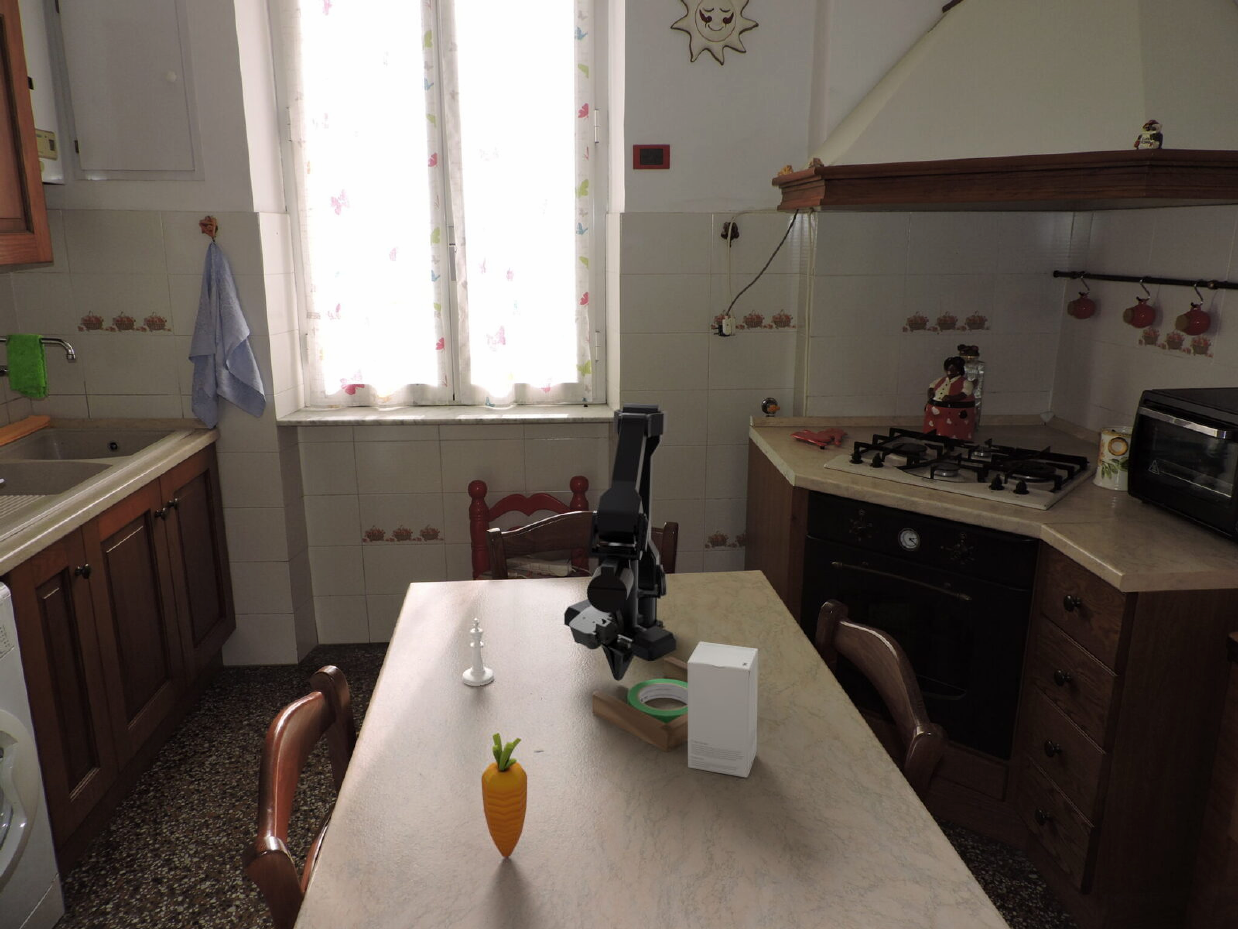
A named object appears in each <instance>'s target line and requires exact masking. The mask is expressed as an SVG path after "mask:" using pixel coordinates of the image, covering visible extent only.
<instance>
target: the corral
mask: <svg viewBox="0 0 1238 929" xmlns="http://www.w3.org/2000/svg"><path fill="white" fill-rule="evenodd" d="M663 677H664V679H673V680H679V681H683V682H686V683H688V663H687V662H684V661H682V660H680V659H678V658H675V657H673V656H668V657H667V658H664V660H663ZM591 694H592V696H591V700H592V701H591V703H592V704H591V705H592V710H591V712H592V714H594V715H596V716H598V717H600V718H602V719H604V720H605V721H607V722H609V723H611V724H613V725H614V726H616V727H619V728H621V729H622V730H624V731H626V732H628V733H629V734H632V735H634V736H635V737H637V738H639V739H641V740H643V741H645V742H647V743H649V744H651V745H653V746H654V747H656V748H658V749H659V750H662V751H664V752H665V753H668V752H671V750H673V749H674V748H676V747H678V746H680V745H681V744H683V743H685V742H688V712H687V713H685V714H683V715H681V716H680V717H678V718H676V719H674V720H672V721H671V722H669V723H667V724H666V723H664V722H662V721H660V720H658V719H656V718H654V717H652V716H650V715H648V714H646V713H644V712H642V711H640V710H638V709H636V708H634V707H632V706H630V705H628V704H627V702H624V701H622V700H620V699H618V698H616V697H614V696H612V695H609V694H608V693H606V692H604V691H602V690H597V691H596V692H593V693H591Z"/></svg>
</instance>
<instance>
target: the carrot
mask: <svg viewBox="0 0 1238 929" xmlns="http://www.w3.org/2000/svg"><path fill="white" fill-rule="evenodd" d="M492 738H493V739H492V740H493V743H494V745H493V746H492V748H491V749H492V755H493V757H494V759H495V762H491V763H490V764H489V765H488V767H487V768H486V769H485V771H484V772H483V773H482V775H481V794H482V802H483V804H482V805H483V812H484V817H485V821H486V825H487V828H488V831H489V834H490V836H491V838H492V841H493V843H494V845H495V847H496V848H497V851H498V852H499V853H500V854H501V857H503V858H504V859H505V858H506V859H507V858H510V857H511V856H512V854H513V852H514V850H515V848H516V846H517V845H518V843H519V841H520V838H521V835H522V833H523V829H524V824H525V820H526V812H527V805H528V803H527V802H528V775H527V772H526V771H525V769H524V768H523V766H522V765H521V764H520V763H519V762H517V758H514V757H513V758H511V756H512V753H513V752H514V750H515V748H516V747H517V745H518V744H519V743H520V742H521V741H522V739H521V738H520V737H516V739H514V740H513V742H512V741H507V742H506V744H505V745H504V748H503V745H502V738H501V736H500V733H499V732H495V733H494V734H493V735H492Z"/></svg>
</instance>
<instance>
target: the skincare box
mask: <svg viewBox="0 0 1238 929" xmlns="http://www.w3.org/2000/svg"><path fill="white" fill-rule="evenodd" d="M758 662H759V648H756V647H755V648H753V647H747V646H746V647H745V646H739V645H731V644H722V643H715V642H707V641H699V642H698V644H697V645H696V647H695V649H694V650H693V652H692V654H691V655H690V657H689V659H688V661H687V662H686V663H687V664H688V740H687V767H688V768H690V769H696V770H701V771H708V772H713V773H718V774H724V775H730V776H735V777H741V778H748V777H749V775H750V771H751V769H752V766H753V763H754V761H755V758H756V754H757V740H758V739H757V738H758V737H757V736H758V690H759V689H758V683H759V682H758V680H759V675H758V674H759V663H758Z"/></svg>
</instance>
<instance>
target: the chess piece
mask: <svg viewBox="0 0 1238 929" xmlns="http://www.w3.org/2000/svg"><path fill="white" fill-rule="evenodd" d="M473 623H474V624H472V625H473V628H472V629H471V630H470V631H469V635H470V636H471V639H472V641H473V642H471V643H470V646H469V647H470V649H472V650H473V659H472V666H471V667H470V668H468V669H466V670H465V671H464V672H463V673H462V678H461V681H462V682H463V683H464V684H465V685H468V686H471V687H472V686H473V687H479V686H480V685H481V686H486V685H488V684H490V683H492V682H493V681H494V678H495V675H494V671H493V670H492V669H490V668H488V667H485V666H484V663H483V658H482V652H481V649H482V648H484V647H485V644H484V642H482V641H481V640H482V638H483V633H484V630H483V628H479V625H480V621H479V619H478V618H474V622H473ZM491 681H492V682H491ZM485 684H486V685H485ZM481 686H480V687H481Z"/></svg>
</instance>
